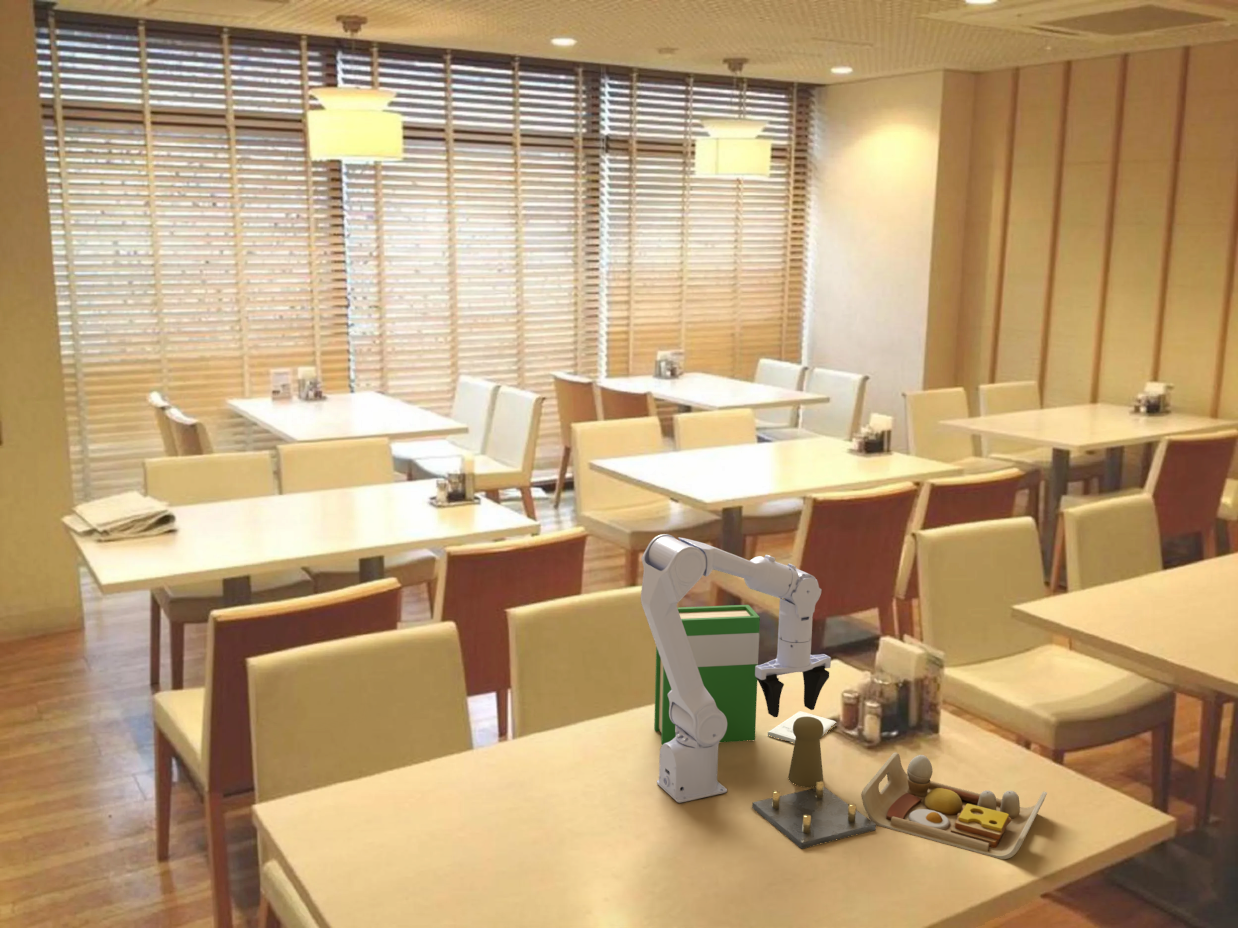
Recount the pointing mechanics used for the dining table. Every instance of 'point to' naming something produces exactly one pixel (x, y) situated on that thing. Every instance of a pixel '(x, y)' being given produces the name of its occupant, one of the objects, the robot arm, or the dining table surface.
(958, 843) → the toy food set
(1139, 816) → the dining table surface
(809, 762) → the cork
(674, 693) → the robot arm
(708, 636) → the hardback book
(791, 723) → the external hard drive
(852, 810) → the chassis plate
